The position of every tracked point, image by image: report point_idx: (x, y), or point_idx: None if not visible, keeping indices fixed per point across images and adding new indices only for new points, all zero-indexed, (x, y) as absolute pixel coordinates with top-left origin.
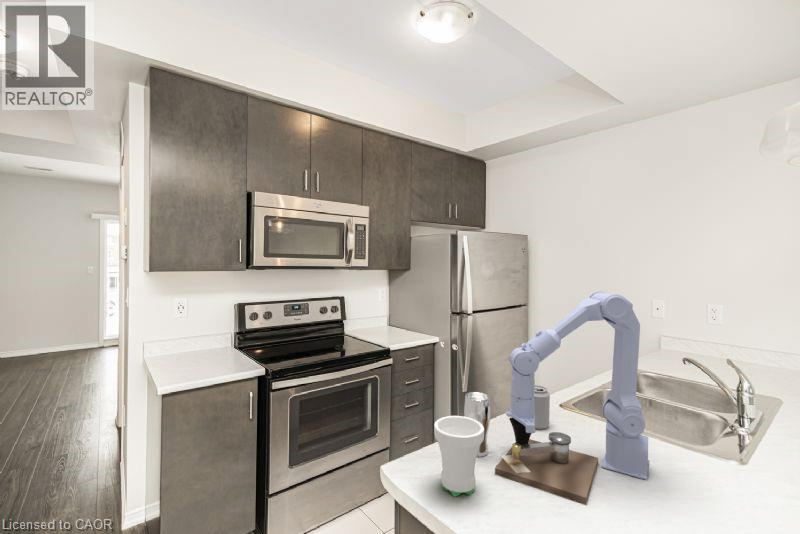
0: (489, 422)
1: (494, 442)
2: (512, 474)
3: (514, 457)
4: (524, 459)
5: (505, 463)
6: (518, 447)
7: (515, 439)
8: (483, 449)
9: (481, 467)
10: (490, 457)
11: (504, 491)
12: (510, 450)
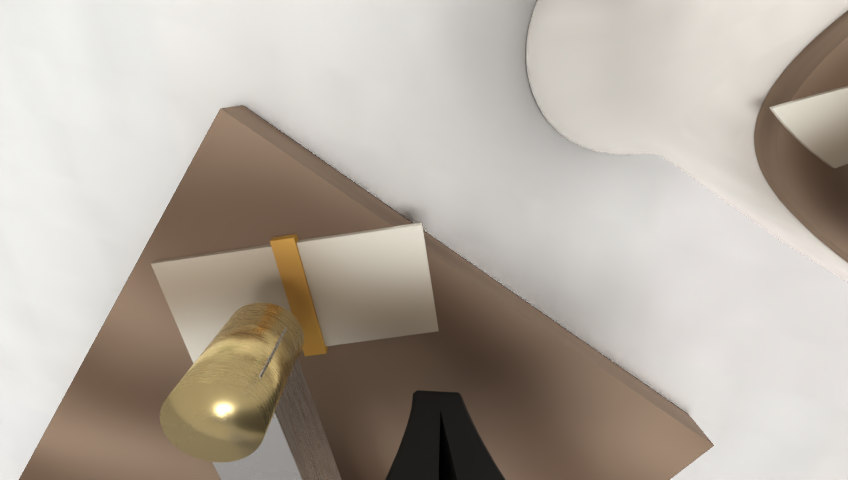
0: (806, 256)
1: (734, 246)
2: (155, 230)
3: (231, 318)
4: (377, 376)
5: (308, 224)
6: (168, 425)
7: (471, 435)
8: (555, 86)
9: (342, 9)
10: (504, 143)
11: (11, 110)
12: (517, 323)
